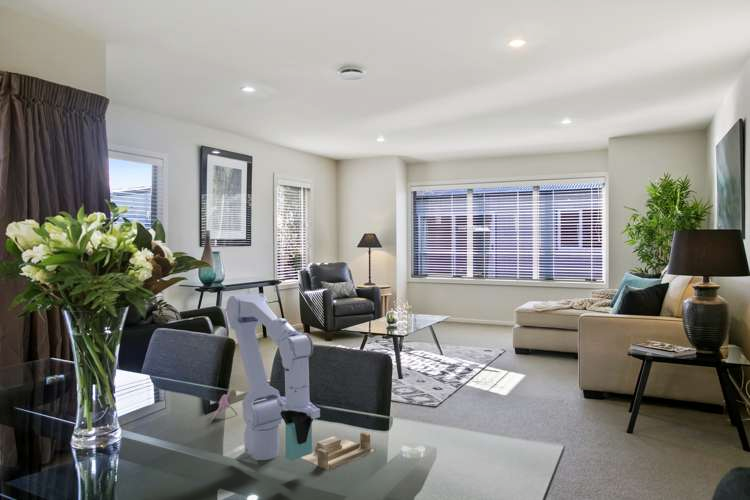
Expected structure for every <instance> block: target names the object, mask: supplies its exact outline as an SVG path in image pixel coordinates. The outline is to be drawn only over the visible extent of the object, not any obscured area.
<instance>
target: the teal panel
mask: <svg viewBox="0 0 750 500" xmlns="http://www.w3.org/2000/svg"><path fill="white" fill-rule="evenodd" d="M312 423H313V422H312ZM312 423H311V426H310V429H309V432H308V437H307V441H306V442H305V443H302V444H298V442H297V434H296V428H295V424H294V422H292V423H288V424H285V425H284V427H285V459H287V460H289V461H292V462H293V461H294V460H297V459H300V457H303V456H306V455H309V454H311V453H312V452H313V451H312V450H313V447H312V446H313V442H312V441H313V440H312V439H313V437H312V436H313V435H312V434H313V433H312V432H313V431H312V430H313V427H312V425H313V424H312Z"/></svg>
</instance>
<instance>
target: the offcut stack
mask: <svg viewBox="0 0 750 500" xmlns="http://www.w3.org/2000/svg"><path fill="white" fill-rule="evenodd" d="M341 440H342V439H341V438H338V437H336V436H333V435H332V436H331V437H328V438H324V439H322V440H319V441H317V442H316V446H314V447H315V449H314V451H315V452H317V453H318V451H317V449H320V448H321V449H323V450H326V451H328V454H329V453H332V452H334V451H337V450H339V449H341V448H342V445H340V443H341Z"/></svg>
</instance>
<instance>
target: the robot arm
mask: <svg viewBox="0 0 750 500" xmlns="http://www.w3.org/2000/svg"><path fill="white" fill-rule="evenodd" d="M268 300H269V299H268V297H266V296H265V294H264V293H263V292H262V293H261V292H258V293H253V294H252V293H251V294H243V295H242V294H241V295H231V296H229V297H228V299H227V301H226V306H225V311H226V315H227V319H228V323H229V324H228V325H229V327H230V329H231V330H233V331H234V332H235V336H236V341H237V344H238V348H239V352H240V353H239V354H240V357H241V360H242V364H243V369H244V373H245V376H246V381H247V385H248V388H249V392H248V393H247V394H246V395H245V396H244V397H243V399H242V401H241V403H242V404H241V405H242V411H243V412H242V417H243V420H244V423H245V426H246V427H245V430H244V433H243V436H244V437H243V439H244V440H243V441H244V453H246V454H247V455H249V456H250V457H251V458H252V459H253V460H256V461H267V460H268V461H269V460H272V459H275V458H276V457H278V456H279V455H280V435H279V434H280V432H279V431H280V430H279V429H280V428H279V425H281V424H282V420H283V422H284V423H285V424H288V423H292V422H294V424H295V428H296V434H297V442H298V444H302V443H305V442H306V441H307V437H308V432H309V429H310V426H311V423H313V421H314V420H315V419H318V418H320V417H321V409H320V407H319V408H318V407H316V406H315V405H314V404H313V403H312V402H311V400H310V370H309V369H310V367H309V366H310V365H309V363H310V361H309V358H310V357H311V356H312V355H313V352H314V343H313V342H314V341H313V340H312V338H311V336H310V335H309V334H308V333H306V332H304V333H302V332H298V330H297V329H295V328H294V327H293V326H292V325H291V324H290V322H289V321H288V320H287V319H286V318H281V317H279V318H278V316H276V314H275V313H274V312H273V310H272V309H271V308H270V307H269V301H268ZM261 324H262V325H263V326H264V327H265V328H267V330H266V332H267V336H268V337H269V338H270V339H271V340H272V341H273V342H274V343H275V344H276V346H278V352H279V355H280V357H281V364H282V367H283V369H284V386H285V387H284V393H285V394H284V396H281V394H280V391H279V390H278V389H276V388H274V387H272V386H271V385H270V384H269V381H268V377H267V372H266V370H265V366H264V362H263V357H262V355H261V350H260V347H259V346H260V345H259V342H258V338H257V335H256V328H257V327H258V326H260V325H261Z"/></svg>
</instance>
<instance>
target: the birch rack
mask: <svg viewBox="0 0 750 500" xmlns="http://www.w3.org/2000/svg"><path fill="white" fill-rule="evenodd" d="M359 434H360V435H359V436H360V437H359V440H360V442H353V441H351V440H349V439H346V438H343V439H341V443H340V445H342V448H341V449H339V450H337V451H334V452H332V453H329V454H328V451H326V450H323V449H321V448H320V449H317V451H318V453H317V452H315V450H313V451H312V453H311V454H309V455H306V456H303V457H300V458H301V459H303V460H305V461H307V462H309V463H311V464H313V465H315V466H317V467H319V468H321V469H324V470H326V471H327V472H330V471H332V470H334V469H337V468H339V467H341V466H343V465H346V464H348V463H350V462H352V461H354V460H357V459H360V458H362V457H364V456H367V455H369V454H372V453H374V452H375V450H374V449H372V447H371V434H370V433H367V432H365V431H361V432H360V433H359ZM300 458H299V459H300Z"/></svg>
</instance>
